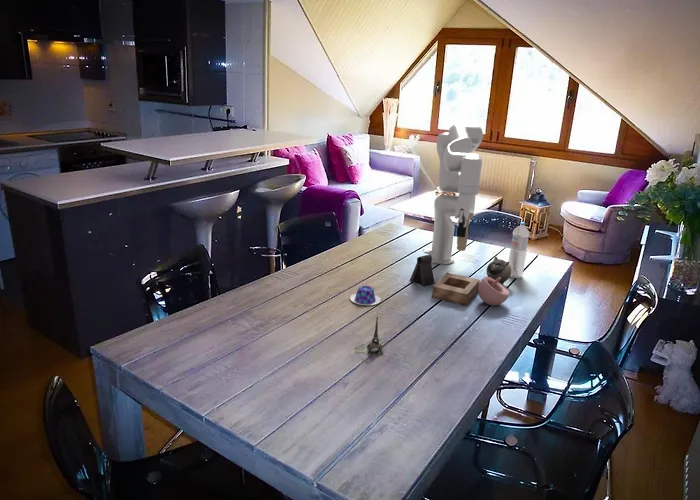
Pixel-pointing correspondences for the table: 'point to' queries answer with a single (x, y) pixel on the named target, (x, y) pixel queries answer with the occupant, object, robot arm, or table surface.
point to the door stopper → (423, 271)
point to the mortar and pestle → (492, 291)
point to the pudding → (365, 296)
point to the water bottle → (518, 250)
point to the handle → (463, 240)
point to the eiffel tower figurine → (371, 345)
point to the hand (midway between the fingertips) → (462, 234)
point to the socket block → (455, 289)
